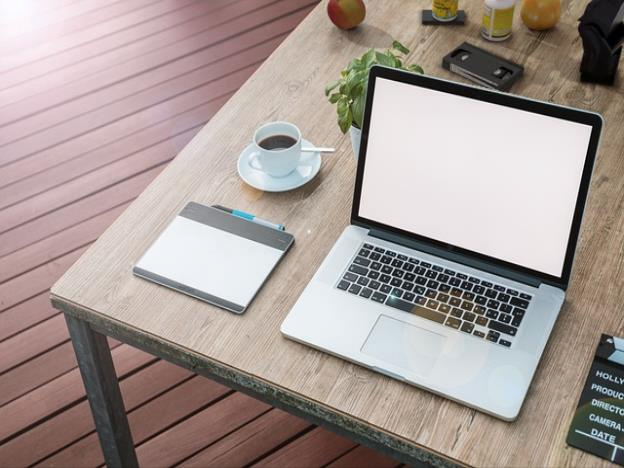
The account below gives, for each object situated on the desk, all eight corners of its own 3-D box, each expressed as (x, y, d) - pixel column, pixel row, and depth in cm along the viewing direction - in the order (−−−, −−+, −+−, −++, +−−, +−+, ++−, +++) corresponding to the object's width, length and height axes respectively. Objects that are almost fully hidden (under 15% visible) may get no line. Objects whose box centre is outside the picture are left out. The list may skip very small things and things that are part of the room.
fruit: (540, -2, 182) (535, -23, 175) (571, 14, 178) (567, -7, 171) (516, 27, 182) (510, 7, 175) (546, 44, 178) (541, 24, 171)
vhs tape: (440, 66, 170) (441, 58, 168) (464, 49, 173) (465, 41, 172) (500, 93, 162) (501, 85, 161) (523, 75, 166) (524, 67, 165)
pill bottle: (515, 31, 178) (522, -17, 170) (503, 45, 174) (510, -3, 166) (488, 23, 180) (493, -25, 172) (475, 37, 176) (481, -11, 169)
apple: (341, 14, 185) (340, -20, 179) (372, 24, 182) (372, -10, 176) (321, 29, 181) (320, -4, 175) (352, 40, 177) (352, 6, 172)
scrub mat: (463, 13, 183) (464, 10, 183) (464, 24, 180) (464, 21, 180) (422, 12, 184) (422, 9, 184) (422, 23, 181) (422, 20, 180)
